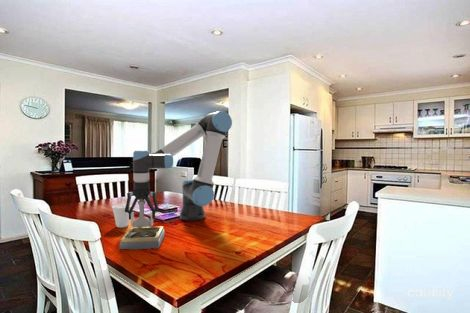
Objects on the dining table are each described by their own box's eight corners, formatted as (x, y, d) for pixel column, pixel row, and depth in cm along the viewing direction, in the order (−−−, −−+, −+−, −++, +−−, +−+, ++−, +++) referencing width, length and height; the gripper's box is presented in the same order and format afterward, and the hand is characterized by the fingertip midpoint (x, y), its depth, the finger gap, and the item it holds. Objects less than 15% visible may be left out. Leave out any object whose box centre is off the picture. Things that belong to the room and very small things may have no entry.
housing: (164, 235, 127) (164, 226, 127) (158, 248, 111) (158, 237, 111) (130, 236, 125) (130, 227, 125) (119, 249, 110) (119, 239, 109)
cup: (125, 229, 136) (124, 208, 135) (108, 228, 138) (107, 207, 137) (135, 223, 145) (135, 204, 145) (120, 222, 147) (119, 203, 147)
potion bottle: (154, 230, 135) (154, 195, 134) (143, 235, 126) (142, 199, 125) (140, 228, 138) (140, 194, 137) (128, 233, 129) (128, 197, 128)
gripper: (164, 179, 136) (165, 222, 137) (121, 180, 133) (122, 223, 134) (162, 181, 128) (162, 226, 129) (116, 182, 126) (117, 228, 127)
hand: (142, 225), depth 132 cm, fingers closed on potion bottle, 9 cm apart
